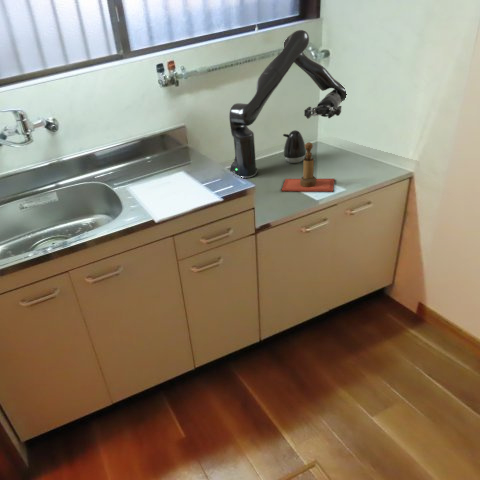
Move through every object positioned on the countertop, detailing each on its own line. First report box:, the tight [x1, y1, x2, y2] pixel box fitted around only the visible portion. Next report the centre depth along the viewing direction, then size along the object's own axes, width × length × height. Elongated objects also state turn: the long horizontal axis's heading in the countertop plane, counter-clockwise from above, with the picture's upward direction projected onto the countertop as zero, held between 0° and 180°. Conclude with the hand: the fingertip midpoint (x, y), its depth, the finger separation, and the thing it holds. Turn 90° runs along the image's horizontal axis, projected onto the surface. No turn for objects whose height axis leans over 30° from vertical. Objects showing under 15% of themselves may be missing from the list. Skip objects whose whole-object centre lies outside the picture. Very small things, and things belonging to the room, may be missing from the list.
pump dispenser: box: [282, 129, 307, 164], centre depth 192 cm, size 10×10×15 cm
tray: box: [281, 178, 335, 193], centre depth 170 cm, size 20×12×1 cm, turn 67°
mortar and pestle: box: [299, 141, 317, 187], centre depth 166 cm, size 7×6×18 cm
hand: (318, 116), depth 167 cm, fingers open, 8 cm apart
